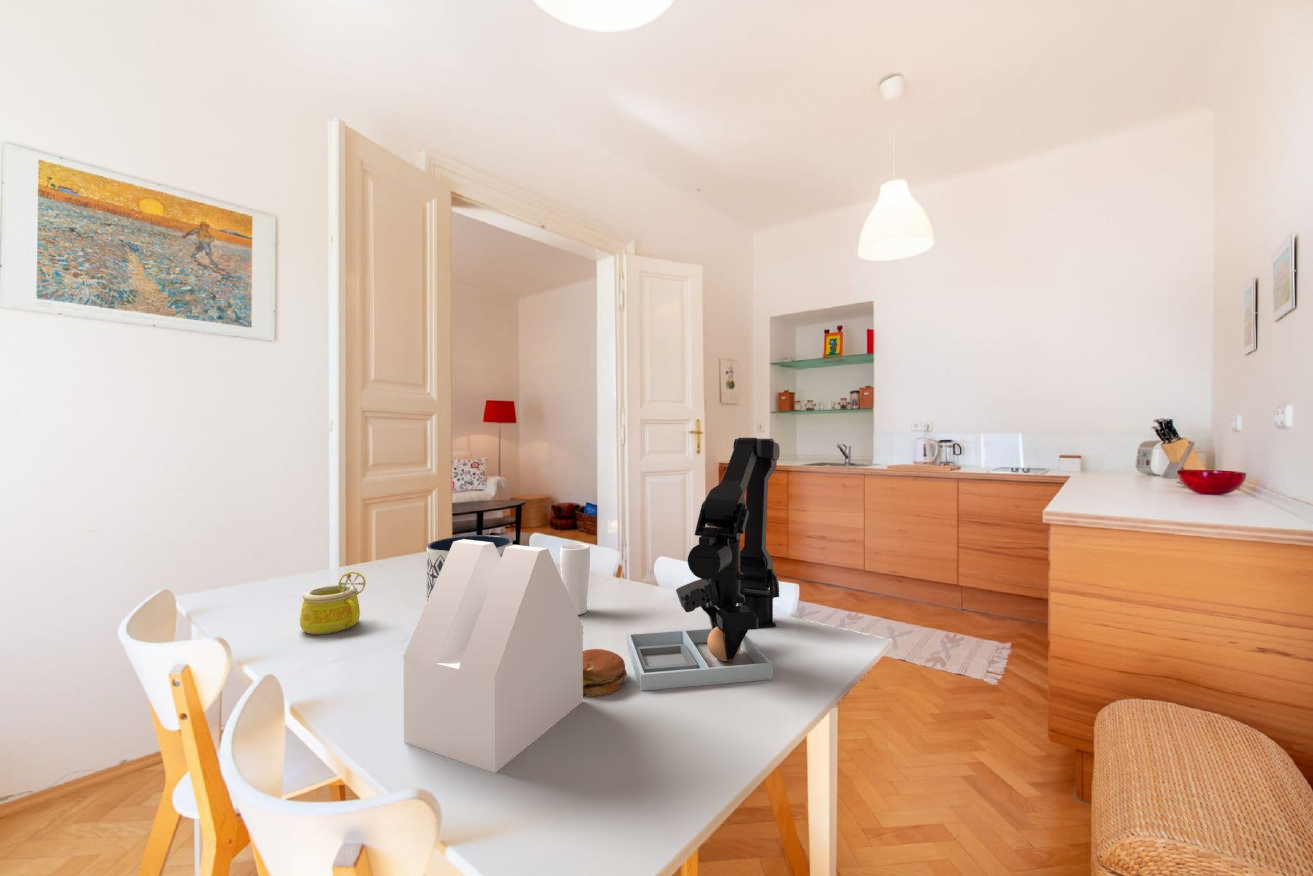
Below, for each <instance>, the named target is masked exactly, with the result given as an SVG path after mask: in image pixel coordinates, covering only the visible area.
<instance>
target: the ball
mask: <svg viewBox="0 0 1313 876" xmlns="http://www.w3.org/2000/svg"><path fill="white" fill-rule="evenodd" d="M706 643H707V649H708V650H709V653H710V654H711V655H712V656H713V657H714V658H716V659H717V660H719V661H723V662H728V661H729V660H727V659H726V653H725V647H724V641H723V634H722V631H721V630H720V629H719V628H718V627H715V628H714V629H713V630H712V631H711V632H710V634H709V636H708V642H706ZM741 649H742V647H741V644H740V646H739V648H738V651H737V653H736V655H735V657H734V659H735V658H736V657H737V656H738V654H739V653H740V652H741Z"/></svg>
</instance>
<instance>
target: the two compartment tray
mask: <svg viewBox="0 0 1313 876" xmlns="http://www.w3.org/2000/svg"><path fill="white" fill-rule="evenodd" d="M711 631H712V627H706V628H705V627H704V628H693V629H692V628H689V629H677V630H660V631H649V632H635V633H634V632H629V633H626V649H627V653H628V654H629V658H630V660H631V664H632V667H633V671H634V675H635V676H636V679H637V683H638V687H639V689H640V692H643V691H653V690H664V689H666V690H667V689H676V688H687V687H688V688H689V687H698V686H699V687H700V686H709V685H710V686H711V685H721V684H733V683H742V682H744V683H745V682H755V681H758V682H759V681H767V680H769V681H770V680H774V675H773V674H774V664H773V663H772V661H770V659H769V658H768V657H767V656H766V655H765V654H764V653H763V652H762V651H761V650H760V649H759V647H757V646H756V644H755V643H754V642H753V641H752V640H751V639H750V637H748V636H747V634H746V635H745V637H744V639H743V640H742V642H741V649H742V650H743V651H744V652H745V653H746V654H747V655H748V657H749V658H750V659H751V660H752V661H753V662H754V663H750V664H738V665H726V666H713V667H712V666H711V667H709V665H708V664H707V662H706V661H705V658H704V657H703V656H702V655H701V653H700V652H699V650H698V648H697V647H696V645H695V644H699V643H707V642H708V636H709V634H710V632H711ZM684 643H685V645H686V647H687V648H688V650H689V652H690V653H691V655H692V657H693V658H694V660H695V662H696V663H697V665H698V669H687V670H674V671H662V672H650V673H644V671H643V669H642V666H641V663H640V660H639V658H638V655H637V652H636V649H635V647H643V646H657V645H670V644H684Z"/></svg>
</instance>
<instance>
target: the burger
mask: <svg viewBox="0 0 1313 876" xmlns="http://www.w3.org/2000/svg"><path fill="white" fill-rule="evenodd" d="M627 675H628V674H627V670H626V664H625V660H624V658H623V657H621V656H620V654H617V653H615V652H614V651H610V650H608V649H602V648H590V649H585V650H583V695H585V696H587V697H604V696H606V695H610V694H613V693H615V692H616V691H618V690H619V689H620V687H621V685H622V684H623V683H624V682H625V681H626V677H627Z"/></svg>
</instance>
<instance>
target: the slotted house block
mask: <svg viewBox="0 0 1313 876" xmlns="http://www.w3.org/2000/svg"><path fill="white" fill-rule="evenodd" d="M583 628H584V625H583V624H582V621H581V619H580V617H579V615H578V614H577V612H576V610H575V608H574V606H573V603H572V601H571V599H570V597H569V594H568V592H567V590H566V588H565V585H564V583H563V581H562V579H561V573H560V571H559V570H558V568H557V565H556V563H555V561H554V559H553V557H552V554H551V552H550V550H549V548H548V547H538V546H530V545H521V544H513V545H512V546H508V547H505V549H504V552H503V555H502V557H500V555H499V553H498V551H497V549H496V547H495V545H494V543H493V542H484V541H474V540H465V539H463V540H458V541H454V542H453V544H452V546H451V548H450V551H449V553H448V555H447V557H446V560H445V562H444V564H443V567H442V569H441V571H440V573H439V576H438V578H437V580H436V583H435V585H434V587H433V589H432V592H431V594H430V596H429V599H428V601H427V600H426V603H425V605H424V608H423V611H422V612H421V614H420V617H419V620H418V621H417V624H416V626H415V629H414V630H413V634H412V635H411V637H410V640H409V642H408V644H407V646H406V649H405V652H404V654H403V743H405V744H408V745H411V746H413V747H417V748H421V749H423V750H425V751H428V752H432V753H435V754H438V755H441V756H443V757H447V758H450V759H453V760H455V761H458V762H461V763H464V764H467V765H469V766H473V767H476V768H479V769H481V770H485V771H488V772H491V773H494V774H495V773H497V772H498V771H499V770H501V769H502V768H503V767H505V766H506V765H507V764H508V763H509V762H510V761H512V759H514V758H515V757H517V756H518V755H519V754H520V753H521V752H523V751H524V750H525V749H526V748H528V747H529V746H530V745H531V744H532V743H534V742H535V741H536V740H537V739H538V738H540V737H541V736H542V735H544V734H545V733H546V732H548V731H549V730H550V729H551V728H552V727H554V725H556V724H557V723H558V722H559V721H561V720H562V719H563V718H564V717H565V716H567V715H568V714H569V713H570V712H572V711H573V710H574V709H576V707H578V706H579V705H581V704H582V703H583V702H584V693H583V651H584V636H583V635H584V629H583Z"/></svg>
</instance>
